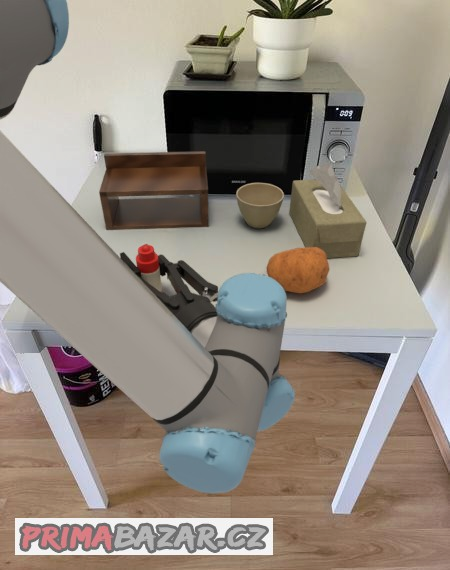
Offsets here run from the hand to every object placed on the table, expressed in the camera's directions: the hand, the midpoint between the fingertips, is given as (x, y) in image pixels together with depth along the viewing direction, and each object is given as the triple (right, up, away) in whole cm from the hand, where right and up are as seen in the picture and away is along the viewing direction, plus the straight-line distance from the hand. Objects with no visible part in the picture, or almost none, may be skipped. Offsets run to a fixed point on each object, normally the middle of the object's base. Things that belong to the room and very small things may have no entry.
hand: (134, 255), depth 77 cm
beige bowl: (+23, +8, +20) cm, 32 cm away
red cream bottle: (+3, -8, +1) cm, 8 cm away
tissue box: (+36, +6, +17) cm, 41 cm away
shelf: (+1, +11, +23) cm, 25 cm away
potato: (+29, -5, +4) cm, 30 cm away
